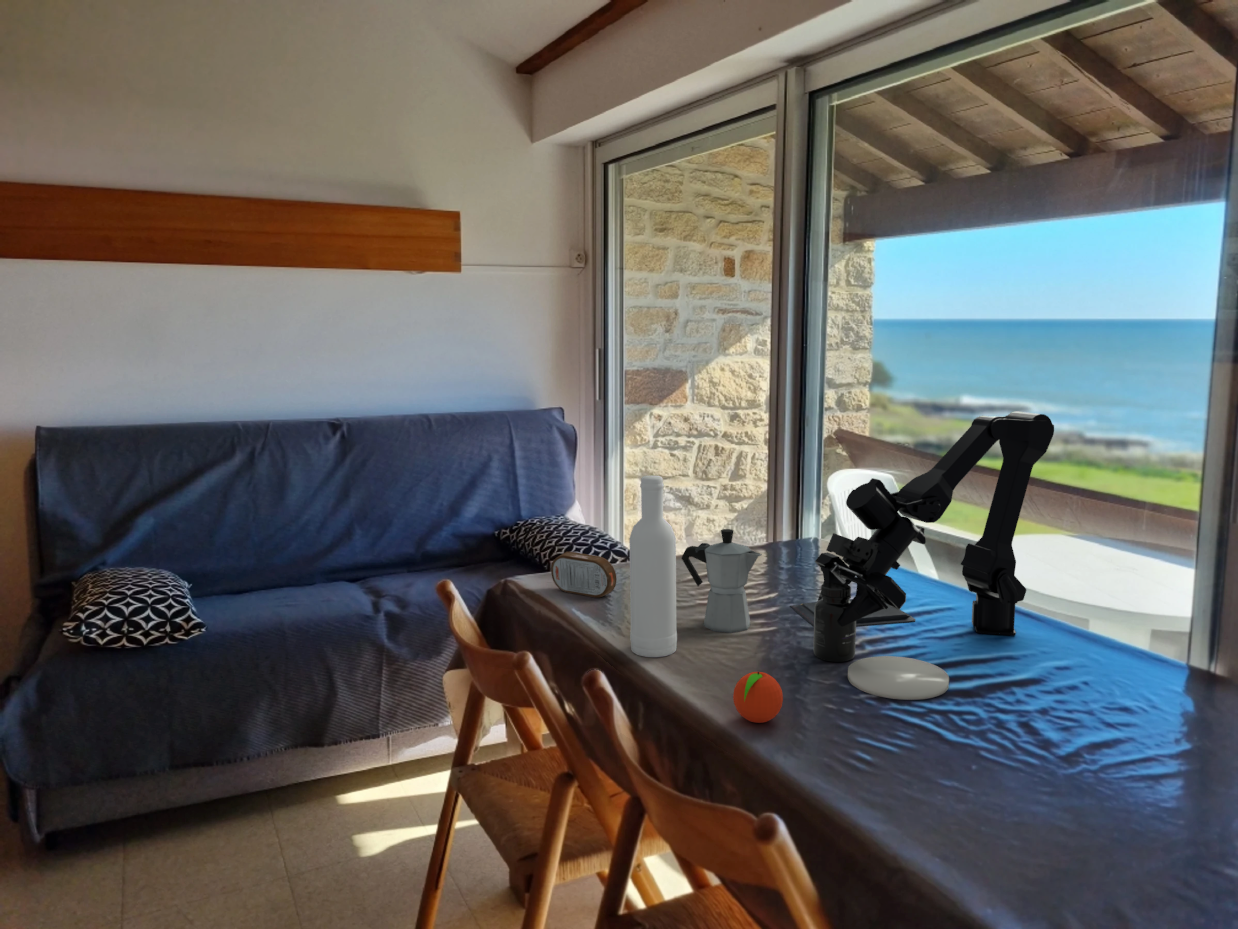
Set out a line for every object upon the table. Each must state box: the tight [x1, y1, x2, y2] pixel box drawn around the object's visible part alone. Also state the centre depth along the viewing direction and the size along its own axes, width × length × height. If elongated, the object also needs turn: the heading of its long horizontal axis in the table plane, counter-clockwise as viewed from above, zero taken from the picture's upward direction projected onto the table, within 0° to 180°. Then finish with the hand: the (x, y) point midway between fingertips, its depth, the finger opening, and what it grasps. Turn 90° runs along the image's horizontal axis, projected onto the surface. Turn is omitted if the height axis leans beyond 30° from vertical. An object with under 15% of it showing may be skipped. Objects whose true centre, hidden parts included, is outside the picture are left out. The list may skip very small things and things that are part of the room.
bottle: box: [629, 474, 678, 658], centre depth 160 cm, size 8×8×30 cm
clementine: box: [732, 671, 784, 724], centre depth 132 cm, size 8×7×7 cm
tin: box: [550, 551, 618, 599], centre depth 195 cm, size 15×3×8 cm, turn 58°
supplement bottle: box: [813, 583, 857, 663], centre depth 157 cm, size 7×7×12 cm
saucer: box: [847, 655, 950, 701], centre depth 146 cm, size 15×15×1 cm
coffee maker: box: [681, 528, 762, 634], centre depth 173 cm, size 15×9×18 cm, turn 71°
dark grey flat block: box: [789, 599, 916, 628], centre depth 180 cm, size 20×2×15 cm
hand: (827, 618), depth 156 cm, fingers closed on supplement bottle, 7 cm apart
